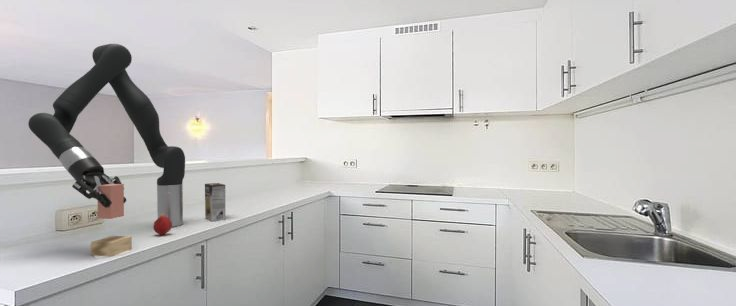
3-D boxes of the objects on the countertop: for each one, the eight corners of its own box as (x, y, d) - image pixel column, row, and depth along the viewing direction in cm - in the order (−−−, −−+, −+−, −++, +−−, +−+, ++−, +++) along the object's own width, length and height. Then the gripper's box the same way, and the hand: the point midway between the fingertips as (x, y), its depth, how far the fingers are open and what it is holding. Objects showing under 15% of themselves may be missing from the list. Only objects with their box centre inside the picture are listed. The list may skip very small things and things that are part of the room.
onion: (163, 238, 118) (162, 216, 118) (149, 237, 119) (149, 215, 119) (175, 234, 124) (175, 212, 124) (162, 233, 125) (162, 212, 125)
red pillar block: (97, 218, 99) (97, 185, 99) (111, 215, 103) (110, 183, 103) (110, 218, 98) (110, 185, 98) (123, 215, 103) (123, 184, 103)
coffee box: (204, 218, 152) (204, 183, 151) (219, 216, 156) (218, 182, 156) (211, 221, 145) (210, 185, 145) (226, 219, 149) (225, 184, 149)
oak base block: (91, 255, 98) (90, 241, 98) (112, 248, 105) (111, 235, 105) (111, 256, 97) (111, 242, 97) (131, 248, 104) (131, 236, 104)
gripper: (65, 156, 95) (102, 199, 93) (110, 155, 109) (143, 192, 107) (49, 174, 95) (86, 217, 94) (95, 171, 110) (128, 208, 108)
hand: (116, 204), depth 101 cm, fingers closed on red pillar block, 4 cm apart
